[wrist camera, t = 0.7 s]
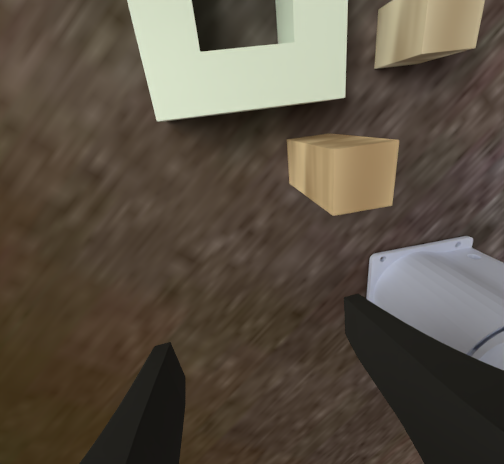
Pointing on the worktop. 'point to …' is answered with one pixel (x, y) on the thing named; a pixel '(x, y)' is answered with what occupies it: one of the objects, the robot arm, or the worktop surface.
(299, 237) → the worktop surface
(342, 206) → the long pin
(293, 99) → the socket
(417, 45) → the short pin
